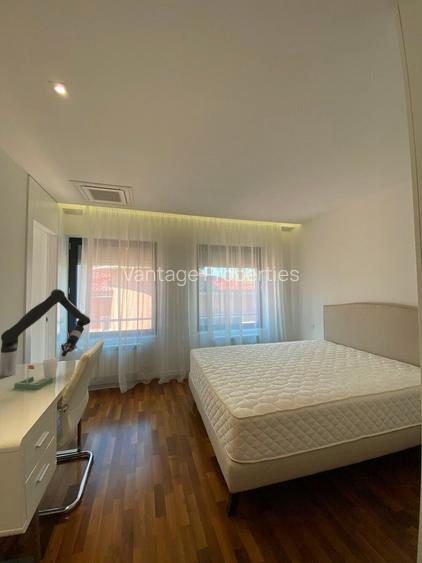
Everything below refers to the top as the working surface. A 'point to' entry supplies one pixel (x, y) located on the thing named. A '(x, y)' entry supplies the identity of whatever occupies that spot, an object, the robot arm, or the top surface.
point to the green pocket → (26, 382)
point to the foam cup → (50, 367)
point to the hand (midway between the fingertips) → (63, 356)
